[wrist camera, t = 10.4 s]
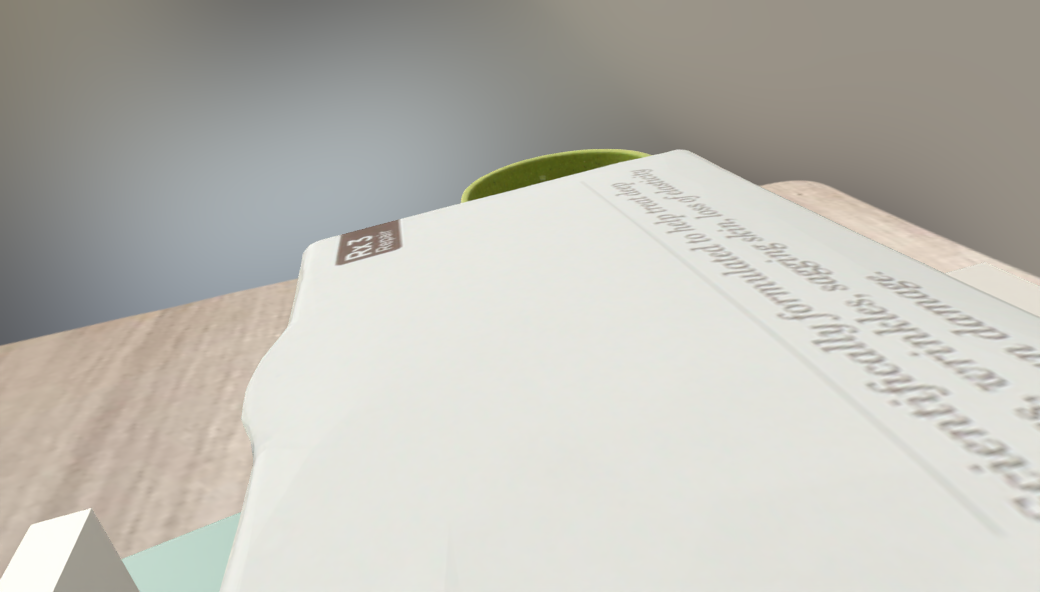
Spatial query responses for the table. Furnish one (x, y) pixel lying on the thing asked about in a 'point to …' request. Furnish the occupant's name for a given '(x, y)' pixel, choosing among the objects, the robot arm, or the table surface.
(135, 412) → the table surface
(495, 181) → the plant pot
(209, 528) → the teal block
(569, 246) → the skincare box
